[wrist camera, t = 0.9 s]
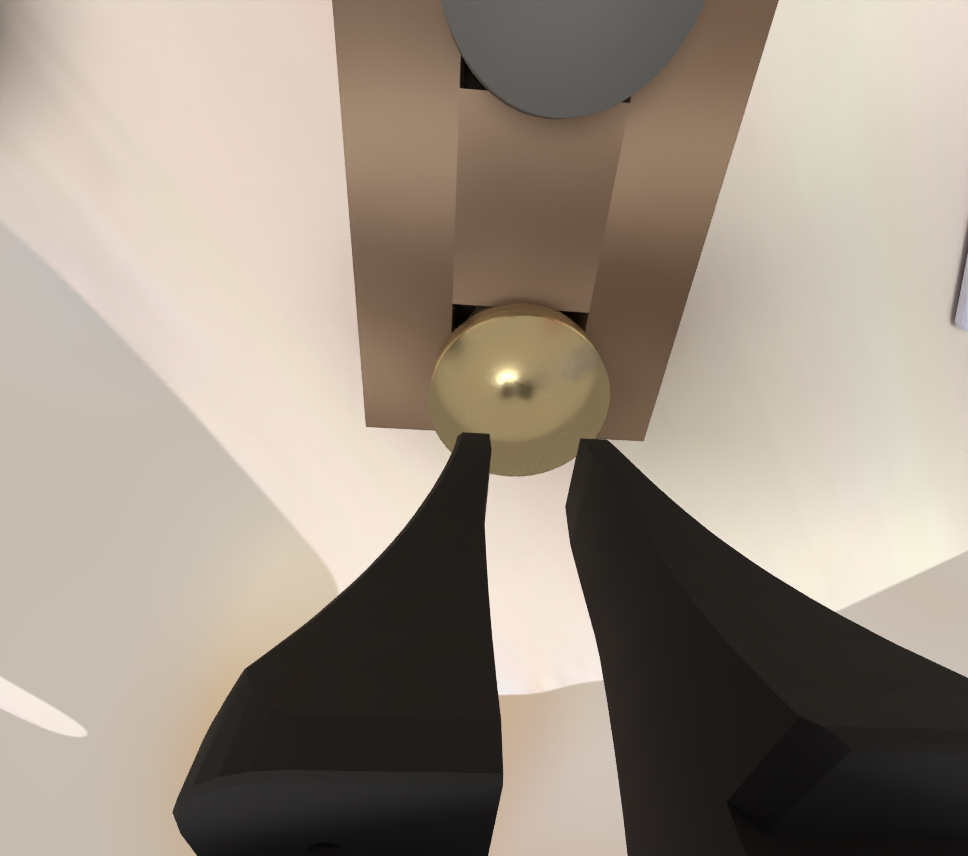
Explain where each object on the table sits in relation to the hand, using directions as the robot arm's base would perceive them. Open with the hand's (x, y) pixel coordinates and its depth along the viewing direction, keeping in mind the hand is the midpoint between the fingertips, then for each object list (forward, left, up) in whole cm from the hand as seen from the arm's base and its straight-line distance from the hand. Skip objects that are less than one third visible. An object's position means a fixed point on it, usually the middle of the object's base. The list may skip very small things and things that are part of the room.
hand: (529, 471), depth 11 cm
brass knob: (0, 0, -8) cm, 8 cm away
